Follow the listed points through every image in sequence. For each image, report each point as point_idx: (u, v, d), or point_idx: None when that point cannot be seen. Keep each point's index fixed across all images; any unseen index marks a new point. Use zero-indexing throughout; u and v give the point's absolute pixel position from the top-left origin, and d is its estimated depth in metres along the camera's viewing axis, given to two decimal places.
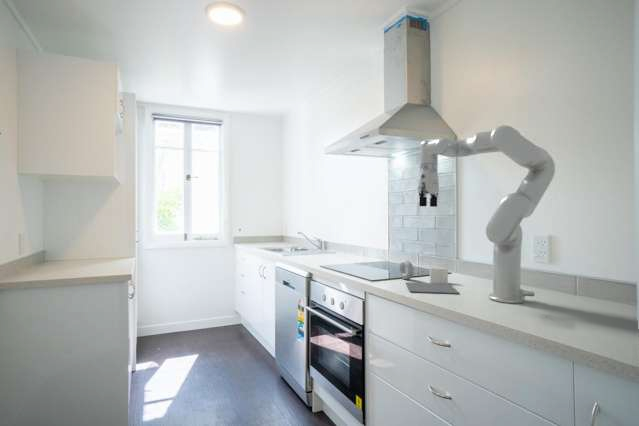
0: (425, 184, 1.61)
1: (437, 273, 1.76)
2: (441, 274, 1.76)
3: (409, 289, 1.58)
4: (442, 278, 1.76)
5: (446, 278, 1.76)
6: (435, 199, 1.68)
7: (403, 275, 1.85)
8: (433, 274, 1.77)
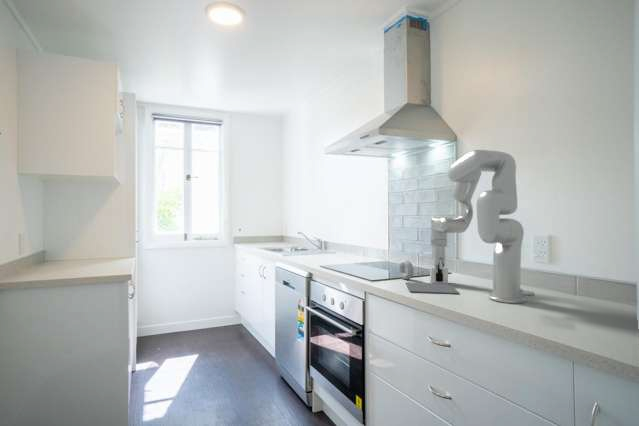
0: None
1: None
2: None
3: (409, 289, 1.58)
4: None
5: (446, 278, 1.76)
6: None
7: (403, 275, 1.85)
8: (433, 274, 1.77)
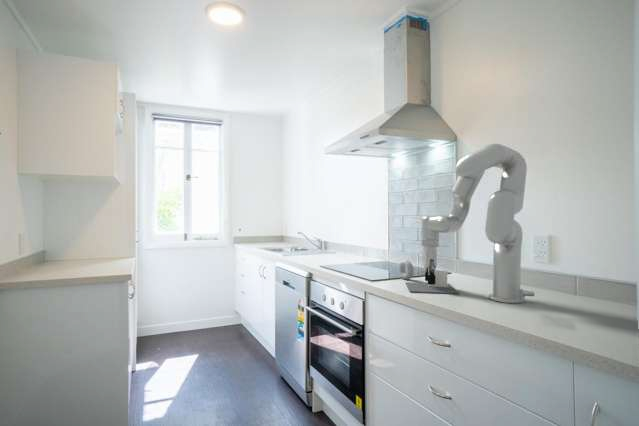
0: None
1: (436, 276, 1.64)
2: (440, 277, 1.64)
3: (409, 289, 1.58)
4: (441, 281, 1.64)
5: (445, 281, 1.64)
6: None
7: (403, 275, 1.85)
8: None
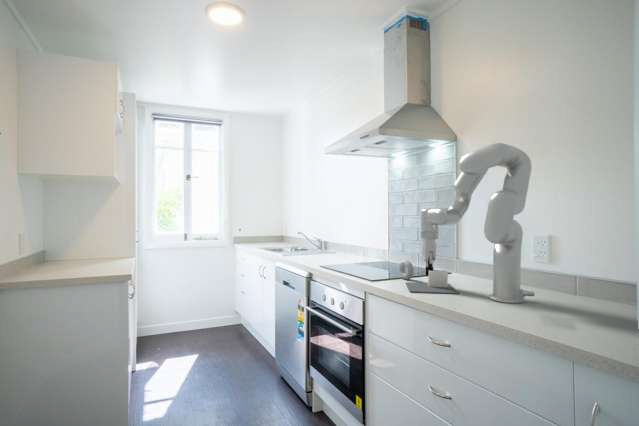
0: None
1: (436, 276, 1.63)
2: (440, 277, 1.63)
3: (409, 289, 1.58)
4: (441, 282, 1.64)
5: (446, 282, 1.63)
6: None
7: (403, 275, 1.85)
8: (432, 277, 1.64)
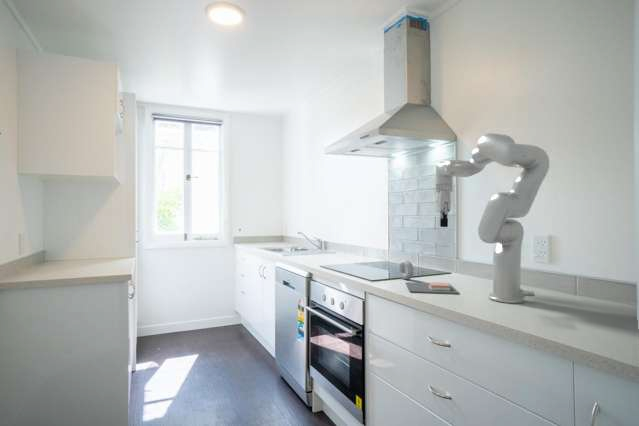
0: None
1: None
2: None
3: (409, 289, 1.58)
4: None
5: None
6: None
7: (403, 275, 1.85)
8: None
